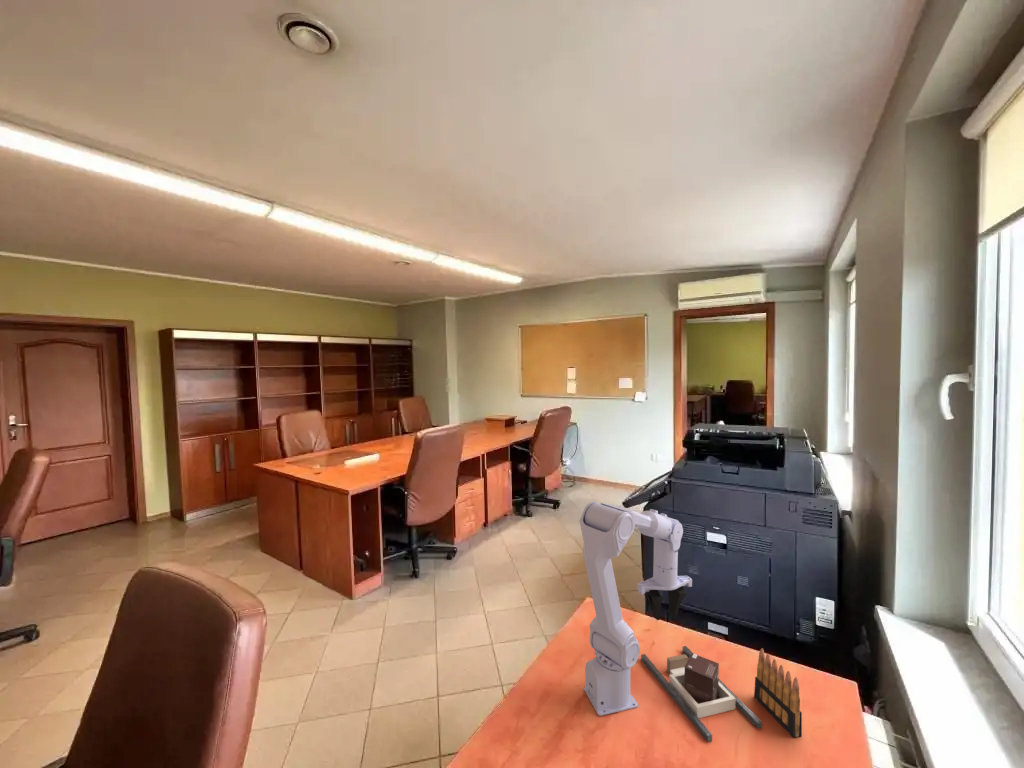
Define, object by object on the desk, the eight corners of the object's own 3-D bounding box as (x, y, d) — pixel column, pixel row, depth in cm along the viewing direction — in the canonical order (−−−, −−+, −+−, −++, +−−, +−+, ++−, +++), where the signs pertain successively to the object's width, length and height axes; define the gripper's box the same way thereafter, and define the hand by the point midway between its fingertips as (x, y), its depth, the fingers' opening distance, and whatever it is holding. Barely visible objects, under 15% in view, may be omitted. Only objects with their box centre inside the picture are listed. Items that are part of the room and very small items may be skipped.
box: (712, 712, 91) (713, 679, 90) (683, 698, 94) (683, 666, 94) (718, 694, 95) (719, 663, 95) (690, 682, 99) (691, 651, 99)
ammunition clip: (753, 697, 95) (755, 646, 94) (760, 696, 95) (762, 644, 95) (794, 739, 84) (796, 681, 84) (802, 737, 85) (804, 680, 84)
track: (707, 743, 84) (707, 735, 83) (641, 660, 107) (641, 654, 107) (761, 728, 87) (762, 721, 87) (685, 651, 110) (685, 645, 110)
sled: (697, 718, 89) (697, 704, 89) (658, 672, 102) (658, 659, 102) (735, 709, 91) (735, 694, 91) (692, 665, 105) (693, 652, 105)
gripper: (680, 553, 113) (679, 603, 114) (631, 560, 109) (630, 611, 110) (698, 566, 106) (697, 618, 107) (646, 573, 102) (645, 628, 103)
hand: (664, 616), depth 108 cm, fingers open, 4 cm apart
